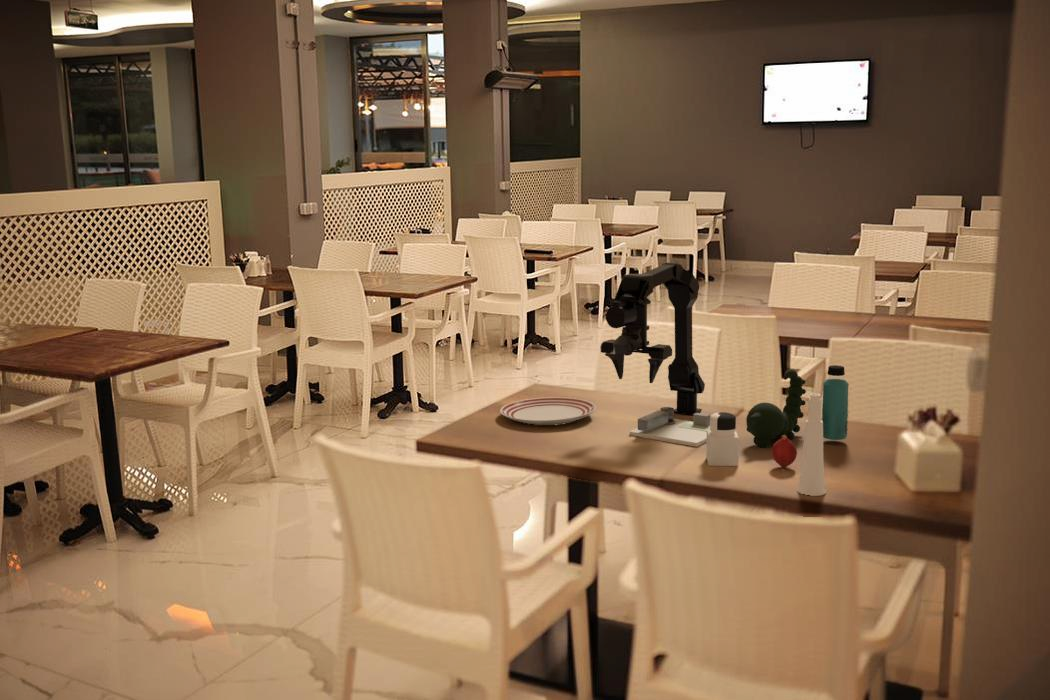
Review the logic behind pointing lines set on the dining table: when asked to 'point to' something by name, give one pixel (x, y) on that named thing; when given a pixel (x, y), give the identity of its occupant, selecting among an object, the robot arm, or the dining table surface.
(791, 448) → the onion
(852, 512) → the dining table surface
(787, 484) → the dining table surface
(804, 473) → the cosmetic bottle
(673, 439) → the door board
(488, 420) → the dining table surface
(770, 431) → the toy figurine
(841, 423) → the beverage bottle
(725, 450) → the medicine bottle
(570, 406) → the dinner plate
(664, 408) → the bar
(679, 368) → the robot arm
